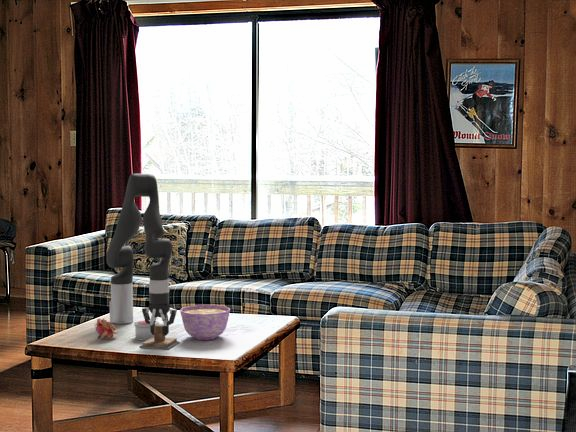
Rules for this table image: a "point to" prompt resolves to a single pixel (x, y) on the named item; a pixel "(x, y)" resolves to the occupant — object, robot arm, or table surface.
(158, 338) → the lid
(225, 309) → the bowl of food
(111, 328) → the flower
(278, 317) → the table surface
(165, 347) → the mat
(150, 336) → the jam crock
